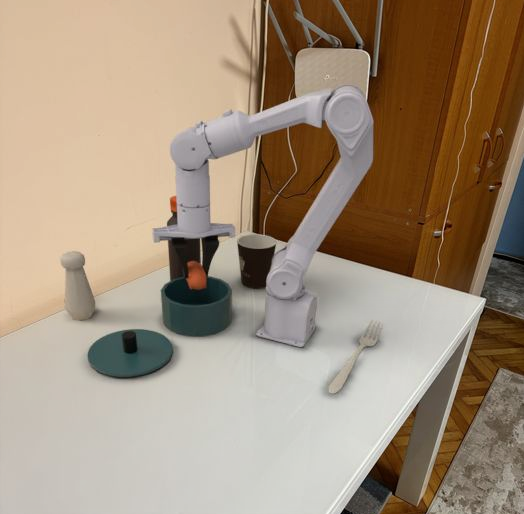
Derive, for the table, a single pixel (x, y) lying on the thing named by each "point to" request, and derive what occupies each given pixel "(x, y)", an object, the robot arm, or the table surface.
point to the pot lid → (130, 352)
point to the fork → (354, 359)
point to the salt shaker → (77, 287)
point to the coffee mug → (255, 259)
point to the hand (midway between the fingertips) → (195, 275)
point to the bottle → (192, 244)
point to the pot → (196, 307)
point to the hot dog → (196, 275)
